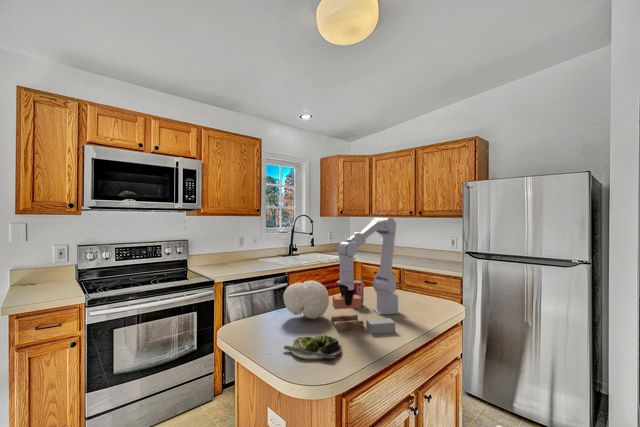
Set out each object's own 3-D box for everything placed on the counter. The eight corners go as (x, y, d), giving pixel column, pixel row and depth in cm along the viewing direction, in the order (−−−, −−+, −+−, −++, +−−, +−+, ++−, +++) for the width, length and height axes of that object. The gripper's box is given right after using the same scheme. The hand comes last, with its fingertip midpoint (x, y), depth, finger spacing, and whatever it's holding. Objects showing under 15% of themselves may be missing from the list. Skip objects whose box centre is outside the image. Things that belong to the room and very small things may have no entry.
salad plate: (280, 364, 93) (280, 349, 93) (286, 340, 111) (286, 327, 111) (343, 363, 93) (343, 349, 93) (339, 339, 111) (339, 327, 111)
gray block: (389, 328, 122) (389, 318, 122) (395, 332, 117) (395, 322, 117) (366, 329, 120) (366, 319, 120) (370, 334, 116) (370, 324, 116)
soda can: (354, 308, 147) (354, 283, 147) (346, 304, 153) (346, 280, 153) (366, 306, 150) (366, 282, 150) (358, 302, 156) (358, 279, 156)
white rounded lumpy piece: (323, 310, 143) (323, 276, 143) (334, 324, 126) (334, 284, 126) (281, 314, 138) (281, 278, 138) (287, 328, 121) (286, 287, 121)
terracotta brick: (357, 304, 130) (357, 294, 130) (361, 307, 125) (361, 298, 125) (332, 305, 128) (332, 295, 128) (335, 309, 123) (335, 299, 123)
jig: (355, 319, 132) (355, 313, 132) (364, 329, 120) (364, 323, 120) (331, 320, 130) (331, 314, 130) (337, 331, 118) (337, 325, 118)
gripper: (333, 267, 133) (333, 298, 133) (341, 274, 119) (341, 309, 119) (349, 267, 134) (349, 298, 134) (358, 273, 120) (358, 308, 120)
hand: (346, 303), depth 127 cm, fingers closed on terracotta brick, 5 cm apart
